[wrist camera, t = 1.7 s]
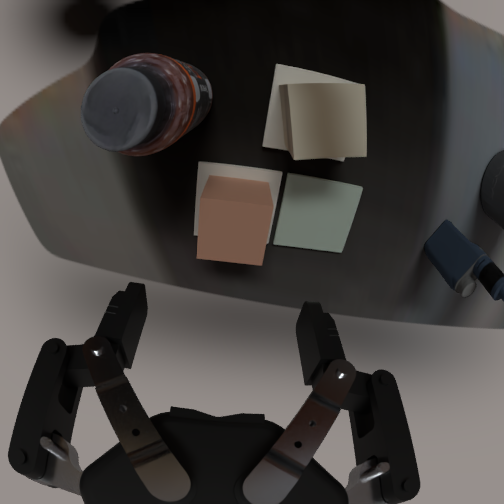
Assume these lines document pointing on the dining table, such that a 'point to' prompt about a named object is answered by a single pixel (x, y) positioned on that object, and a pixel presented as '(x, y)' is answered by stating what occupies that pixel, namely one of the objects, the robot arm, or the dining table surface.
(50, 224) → the dining table surface
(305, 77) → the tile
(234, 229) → the terracotta block
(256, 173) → the tile
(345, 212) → the sage pad
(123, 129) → the supplement bottle
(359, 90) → the maple block
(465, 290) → the vaping device
